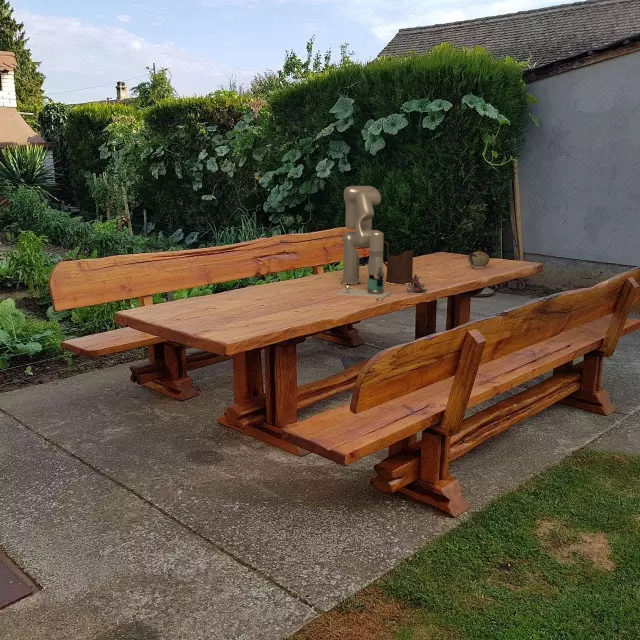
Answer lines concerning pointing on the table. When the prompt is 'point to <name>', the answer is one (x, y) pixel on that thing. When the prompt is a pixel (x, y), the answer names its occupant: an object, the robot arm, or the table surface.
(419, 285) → the brake caliper
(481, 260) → the sugar bowl
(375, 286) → the collar
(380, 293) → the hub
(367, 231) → the robot arm
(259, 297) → the table surface
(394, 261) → the brown pitcher
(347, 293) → the stand rod
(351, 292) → the board
